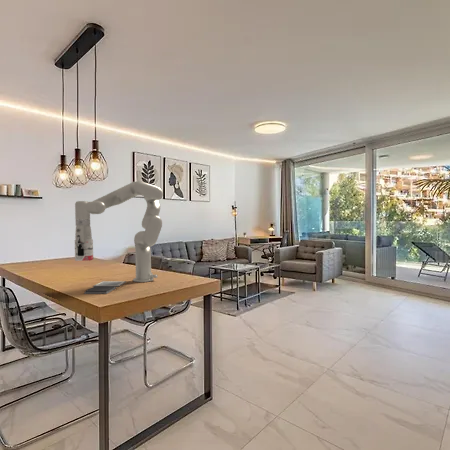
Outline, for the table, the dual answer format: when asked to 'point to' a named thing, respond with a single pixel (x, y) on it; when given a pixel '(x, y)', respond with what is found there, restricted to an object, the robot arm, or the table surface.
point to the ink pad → (100, 290)
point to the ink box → (85, 251)
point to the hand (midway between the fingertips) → (83, 254)
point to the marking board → (110, 283)
